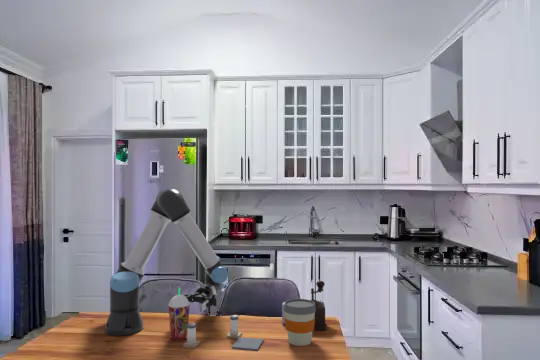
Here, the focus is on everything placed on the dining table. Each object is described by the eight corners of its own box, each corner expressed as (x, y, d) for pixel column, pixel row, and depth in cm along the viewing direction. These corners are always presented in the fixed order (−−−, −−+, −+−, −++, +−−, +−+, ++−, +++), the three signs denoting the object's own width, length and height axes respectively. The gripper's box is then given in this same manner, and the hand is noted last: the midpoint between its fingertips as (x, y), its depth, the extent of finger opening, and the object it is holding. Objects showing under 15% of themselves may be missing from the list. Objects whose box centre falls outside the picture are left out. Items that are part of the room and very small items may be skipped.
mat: (231, 348, 153) (231, 346, 153) (239, 338, 163) (239, 337, 163) (257, 350, 151) (257, 348, 151) (263, 340, 161) (263, 339, 161)
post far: (226, 337, 164) (226, 317, 164) (230, 333, 169) (230, 313, 169) (238, 338, 163) (238, 318, 163) (241, 334, 168) (241, 314, 168)
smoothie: (187, 342, 159) (187, 290, 160) (165, 341, 159) (166, 290, 160) (191, 334, 168) (191, 285, 168) (171, 334, 168) (171, 285, 168)
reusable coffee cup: (289, 349, 152) (289, 308, 152) (279, 337, 164) (279, 299, 165) (320, 345, 156) (320, 306, 156) (309, 334, 168) (309, 297, 168)
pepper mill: (327, 330, 172) (327, 288, 172) (301, 330, 172) (301, 287, 173) (324, 319, 187) (324, 279, 188) (300, 318, 188) (300, 279, 188)
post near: (182, 347, 154) (182, 325, 154) (188, 342, 159) (188, 321, 159) (195, 348, 153) (195, 326, 153) (200, 343, 158) (200, 322, 158)
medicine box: (300, 321, 184) (300, 302, 184) (299, 324, 179) (299, 305, 179) (282, 320, 185) (282, 301, 185) (282, 324, 180) (282, 304, 180)
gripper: (230, 303, 187) (215, 317, 167) (180, 300, 193) (159, 313, 172) (231, 287, 188) (215, 299, 167) (180, 284, 193) (159, 295, 172)
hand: (186, 306), depth 169 cm, fingers open, 13 cm apart
